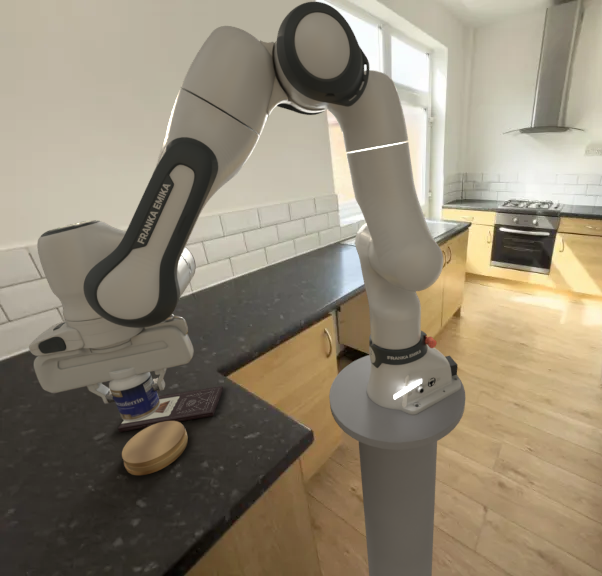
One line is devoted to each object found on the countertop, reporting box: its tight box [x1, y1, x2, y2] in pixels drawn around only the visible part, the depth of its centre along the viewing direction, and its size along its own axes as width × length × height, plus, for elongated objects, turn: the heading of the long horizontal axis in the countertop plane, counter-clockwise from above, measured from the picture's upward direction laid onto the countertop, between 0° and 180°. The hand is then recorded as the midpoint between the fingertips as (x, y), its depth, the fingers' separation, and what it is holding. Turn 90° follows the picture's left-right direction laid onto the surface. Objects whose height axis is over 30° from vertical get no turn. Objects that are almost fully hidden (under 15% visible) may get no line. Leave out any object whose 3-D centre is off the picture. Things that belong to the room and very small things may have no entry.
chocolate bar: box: [117, 385, 224, 433], centre depth 71 cm, size 9×1×18 cm
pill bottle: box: [108, 368, 160, 421], centre depth 55 cm, size 6×6×10 cm
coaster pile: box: [121, 421, 189, 476], centre depth 60 cm, size 10×10×3 cm
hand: (136, 394), depth 56 cm, fingers closed on pill bottle, 6 cm apart
